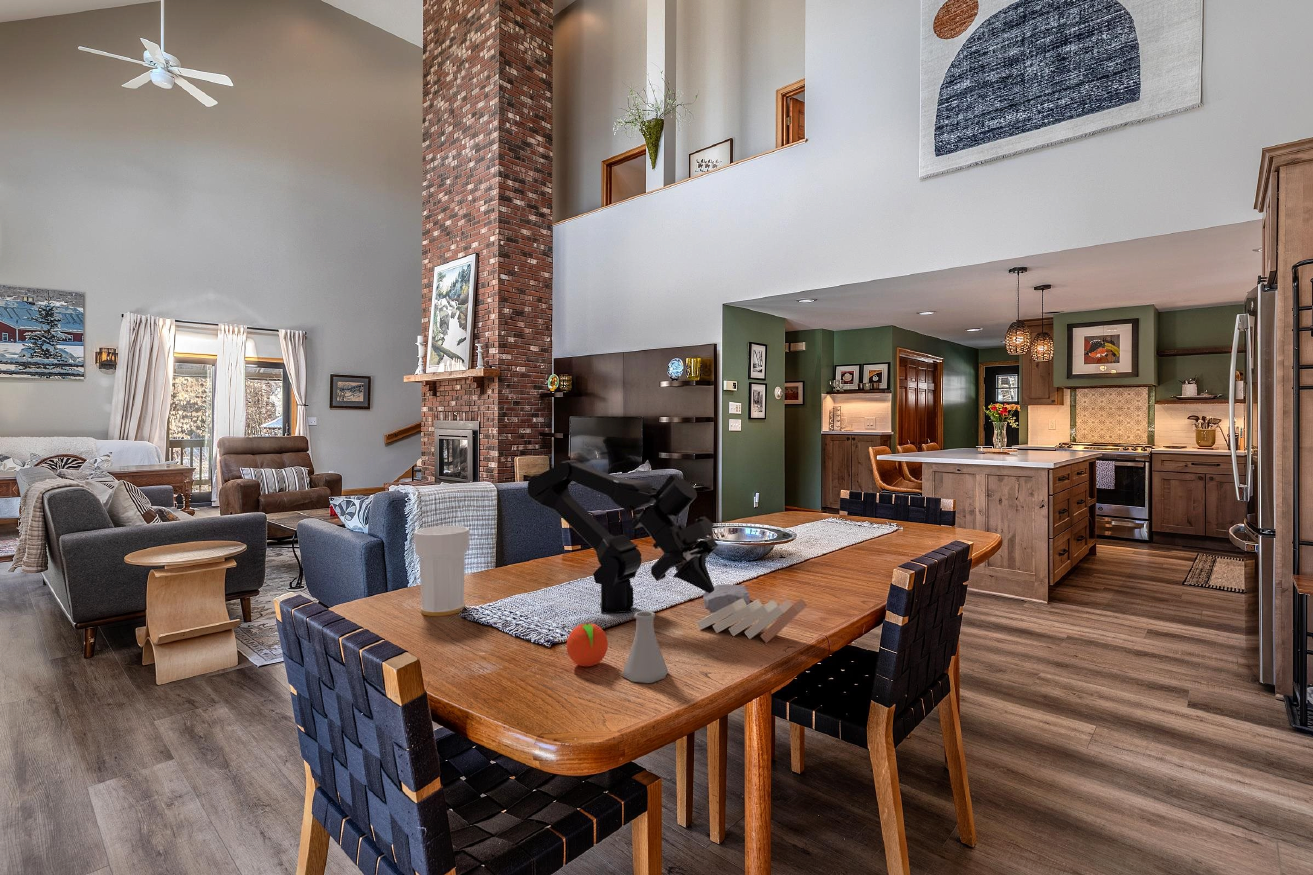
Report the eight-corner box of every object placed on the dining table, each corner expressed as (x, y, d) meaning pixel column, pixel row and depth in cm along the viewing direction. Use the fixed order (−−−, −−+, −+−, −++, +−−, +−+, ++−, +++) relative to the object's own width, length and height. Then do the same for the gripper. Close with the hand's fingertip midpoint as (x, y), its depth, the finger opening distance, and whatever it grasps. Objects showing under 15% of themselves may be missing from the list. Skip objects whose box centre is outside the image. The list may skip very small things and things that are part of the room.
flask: (652, 688, 98) (651, 623, 97) (613, 678, 102) (613, 616, 101) (675, 672, 104) (675, 611, 103) (638, 663, 108) (638, 604, 107)
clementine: (613, 672, 103) (613, 629, 103) (571, 677, 102) (570, 633, 101) (603, 655, 111) (603, 614, 111) (563, 659, 109) (563, 618, 109)
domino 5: (760, 635, 118) (792, 605, 114) (770, 628, 122) (801, 598, 118) (766, 642, 117) (798, 612, 114) (776, 634, 121) (807, 605, 118)
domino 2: (712, 625, 123) (747, 605, 119) (723, 618, 127) (758, 598, 123) (716, 633, 122) (752, 612, 118) (728, 625, 127) (762, 605, 122)
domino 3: (728, 628, 121) (763, 605, 117) (739, 621, 125) (773, 598, 121) (733, 636, 121) (768, 613, 117) (744, 628, 125) (778, 606, 121)
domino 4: (744, 632, 119) (778, 605, 116) (754, 624, 124) (787, 599, 120) (749, 639, 119) (783, 612, 115) (760, 631, 123) (793, 606, 119)
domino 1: (696, 622, 125) (731, 604, 120) (708, 615, 129) (742, 597, 125) (700, 629, 124) (736, 611, 120) (711, 622, 128) (746, 605, 124)
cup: (469, 600, 145) (468, 524, 144) (471, 614, 134) (470, 532, 134) (416, 605, 141) (415, 527, 141) (414, 620, 131) (412, 536, 130)
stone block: (708, 622, 135) (754, 612, 135) (703, 600, 135) (749, 590, 135) (704, 607, 147) (746, 598, 147) (699, 587, 147) (742, 578, 147)
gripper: (664, 511, 120) (716, 576, 114) (709, 499, 136) (758, 557, 130) (629, 548, 124) (679, 613, 119) (677, 533, 140) (723, 590, 135)
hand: (712, 591), depth 125 cm, fingers closed
